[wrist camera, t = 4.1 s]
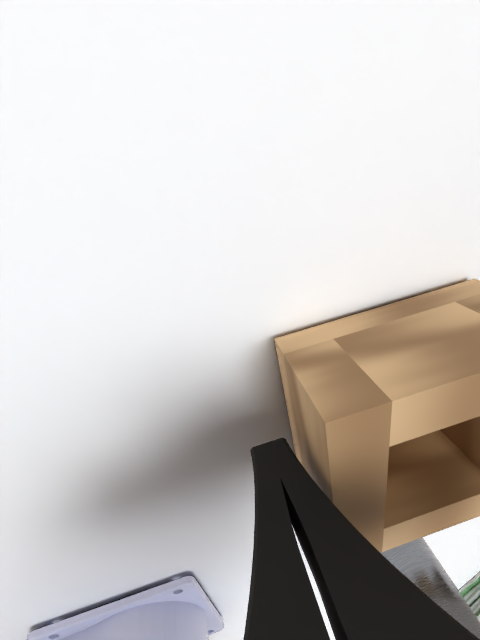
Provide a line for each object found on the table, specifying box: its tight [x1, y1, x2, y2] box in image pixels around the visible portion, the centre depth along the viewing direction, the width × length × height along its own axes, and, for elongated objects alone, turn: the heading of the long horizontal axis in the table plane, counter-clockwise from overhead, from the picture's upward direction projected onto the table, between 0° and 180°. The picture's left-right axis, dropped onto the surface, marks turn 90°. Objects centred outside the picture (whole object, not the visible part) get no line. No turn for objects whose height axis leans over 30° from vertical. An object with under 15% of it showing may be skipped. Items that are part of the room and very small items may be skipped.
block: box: [274, 279, 480, 553], centre depth 11 cm, size 8×8×4 cm
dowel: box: [381, 538, 480, 639], centre depth 15 cm, size 3×3×8 cm
